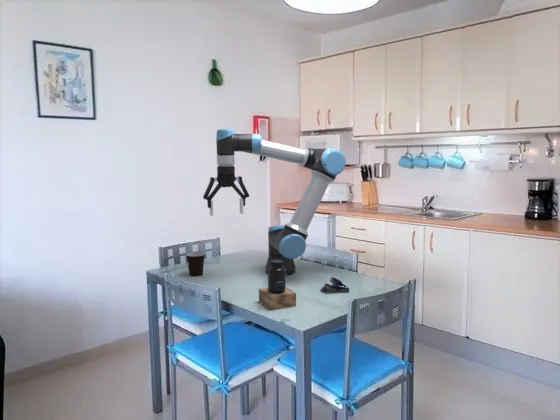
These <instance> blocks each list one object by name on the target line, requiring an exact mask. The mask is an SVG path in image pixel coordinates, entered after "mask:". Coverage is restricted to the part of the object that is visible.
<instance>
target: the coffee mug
mask: <svg viewBox="0 0 560 420" xmlns="http://www.w3.org/2000/svg"><path fill="white" fill-rule="evenodd" d="M185 255H186V261H187V267H188V268H187V269H188V274H189V276H190V277H202V276H203V274H204V265H205V255H206V254H205V252H200V251H199V252H197V251H196V252H189V253H186V254H185Z"/></svg>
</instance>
